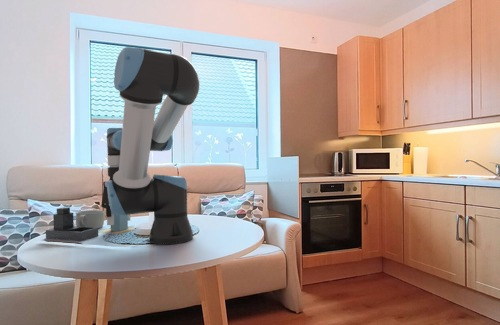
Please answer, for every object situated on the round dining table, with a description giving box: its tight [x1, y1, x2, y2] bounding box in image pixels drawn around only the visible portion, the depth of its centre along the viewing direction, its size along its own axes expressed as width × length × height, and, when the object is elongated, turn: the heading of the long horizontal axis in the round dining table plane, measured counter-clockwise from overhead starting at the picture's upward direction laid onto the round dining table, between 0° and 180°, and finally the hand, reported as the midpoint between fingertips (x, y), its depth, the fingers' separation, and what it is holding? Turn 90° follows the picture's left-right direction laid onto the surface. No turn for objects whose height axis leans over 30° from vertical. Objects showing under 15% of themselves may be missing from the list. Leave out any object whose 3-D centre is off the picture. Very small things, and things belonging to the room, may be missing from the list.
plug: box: [110, 215, 129, 231], centre depth 124 cm, size 4×4×11 cm
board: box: [98, 226, 135, 235], centre depth 124 cm, size 12×12×1 cm
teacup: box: [75, 209, 106, 230], centre depth 128 cm, size 14×11×8 cm
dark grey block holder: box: [45, 206, 99, 245], centre depth 114 cm, size 16×8×12 cm, turn 72°
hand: (119, 222), depth 124 cm, fingers open, 9 cm apart
